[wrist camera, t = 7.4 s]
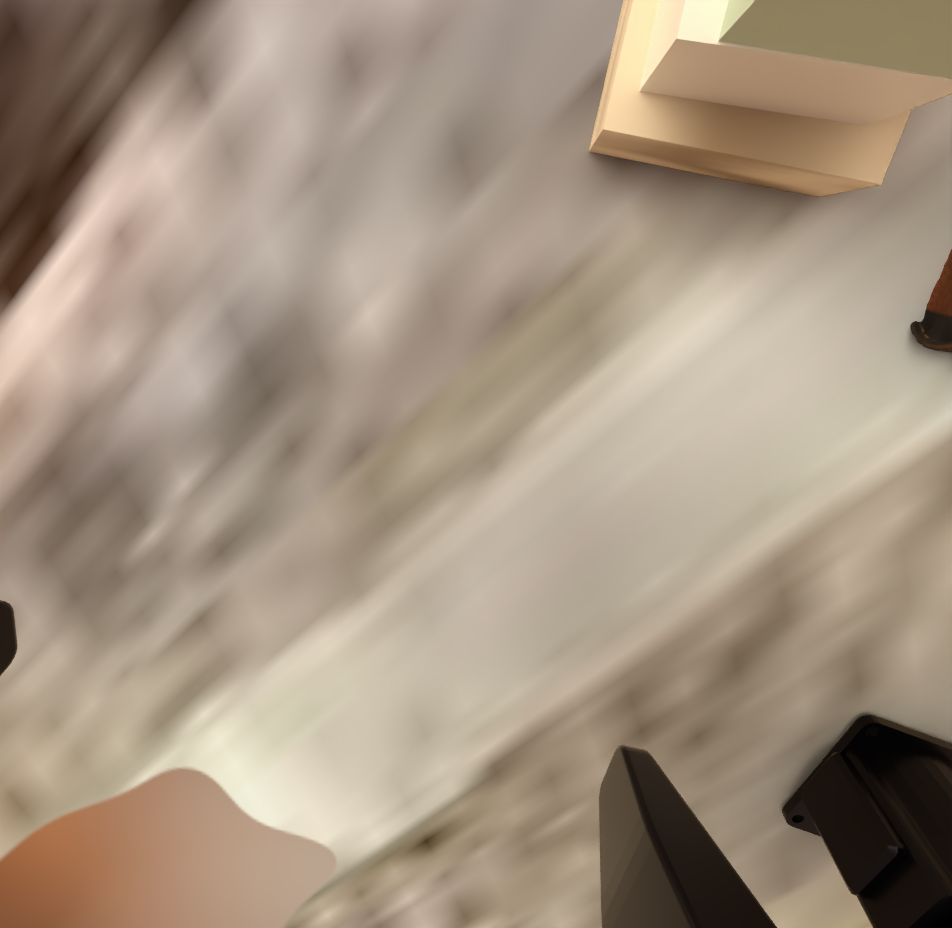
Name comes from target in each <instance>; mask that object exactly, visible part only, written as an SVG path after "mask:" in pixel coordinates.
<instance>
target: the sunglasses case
mask: <svg viewBox="0 0 952 928" xmlns="http://www.w3.org/2000/svg"><path fill="white" fill-rule="evenodd" d="M910 327H911V330H912V333H913V335H914V336H915V338H916V340H917V342H918V343H920V344H922V345H923V346H924V347H926V348H929V349H933V350H937V351H946V352H952V250H951V252H950V255H949V257H948V260H947V262H946V263H945V265H944V268H943V271H942V273H941V276H940V279H939V280H938V281H937V283H936V285H935V287H934V289H933V292H932V294H931V297H930V300H929V302H928V304H927V308H926V311H925V316H924V319H923V321H922V322H917V321H915V322H913V323H911V326H910Z"/></svg>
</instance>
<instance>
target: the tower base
mask: <svg viewBox="0 0 952 928" xmlns="http://www.w3.org/2000/svg"><path fill="white" fill-rule="evenodd" d="M658 3H659V0H624V1H623V5H622V9H621V14H620V18H619V23H618V27H617V31H616V36H615V40H614V44H613V49H612V53H611V57H610V62H609V66H608V70H607V75H606V79H605V83H604V88H603V92H602V97H601V101H600V105H599V110H598V114H597V118H596V123H595V127H594V131H593V136H592V140H591V144H590V149H589V152H594V153H599V154H604V155H609V156H614V157H619V158H624V159H629V160H634V161H639V162H644V163H649V164H654V165H659V166H664V167H669V168H674V169H679V170H684V171H689V172H694V173H699V174H704V175H709V176H714V177H719V178H724V179H730V180H735V181H740V182H745V183H750V184H755V185H760V186H765V187H770V188H775V189H780V190H785V191H790V192H795V193H800V194H805V195H810V196H815V197H821V196H826V195H831V194H836V193H841V192H846V191H851V190H856V189H861V188H866V187H871V186H876V185H881V184H882V181H883V179H884V176H885V174H886V172H887V169H888V167H889V164H890V162H891V159H892V157H893V154H894V152H895V149H896V147H897V145H898V142H899V140H900V137H901V135H902V132H903V130H904V127H905V125H906V122H907V120H908V118H909V115H910V113H911V110H912V109H910V110H908V111H905V112H902V113H900V114H897V115H894V116H892V117H889V118H886V119H884V120H881V121H878V122H876V123H873V124H871V125H868V126H865V125H858V124H852V123H845V122H838V121H832V120H825V119H818V118H812V117H805V116H799V115H792V114H785V113H779V112H772V111H766V110H759V109H752V108H746V107H739V106H732V105H726V104H719V103H713V102H706V101H699V100H693V99H686V98H680V97H673V96H666V95H660V94H653V93H646V92H640V91H639V90H640V86H641V81H642V76H643V72H644V67H645V63H646V58H647V53H648V49H649V44H650V39H651V35H652V30H653V26H654V21H655V16H656V12H657V7H658Z"/></svg>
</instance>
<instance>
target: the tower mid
mask: <svg viewBox="0 0 952 928" xmlns="http://www.w3.org/2000/svg"><path fill="white" fill-rule="evenodd" d="M728 2H729V0H659V3H658V7H657V12H656V16H655V21H654V26H653V30H652V35H651V39H650V44H649V49H648V53H647V58H646V63H645V67H644V72H643V76H642V81H641V86H640V90H639V91H640V92H646V93H653V94H660V95H666V96H673V97H680V98H686V99H693V100H699V101H706V102H713V103H719V104H726V105H732V106H739V107H746V108H752V109H759V110H766V111H772V112H779V113H785V114H792V115H799V116H805V117H812V118H818V119H825V120H832V121H838V122H845V123H852V124H858V125H865V126H868V125H871V124H873V123H876V122H878V121H881V120H884V119H886V118H889V117H892V116H894V115H897V114H900V113H902V112H905V111H908V110H910V109H913V108H915V107H918V106H921V105H923V104H926V103H929V102H931V101H934V100H937V99H939V98H942V97H945V96H947V95H950V94H952V78H947V77H941V76H935V75H928V74H922V73H916V72H909V71H903V70H897V69H891V68H884V67H878V66H872V65H865V64H859V63H853V62H846V61H840V60H834V59H828V58H821V57H815V56H809V55H802V54H796V53H790V52H783V51H777V50H771V49H765V48H758V47H752V46H746V45H739V44H733V43H727V42H721V41H718V40H719V36H720V32H721V29H722V25H723V21H724V17H725V13H726V9H727V6H728Z"/></svg>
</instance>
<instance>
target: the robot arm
mask: <svg viewBox="0 0 952 928" xmlns="http://www.w3.org/2000/svg"><path fill="white" fill-rule="evenodd" d="M16 651H17V637H16V628H15V619H14V611H13V608H12V606H11V605H10V604H9V603H7V602H5V601H1V600H0V676H1V675H2V673H3V672H4V671H5V670H6V669H7V668H8V666H9V665H10V664H11V662H12V660H13V659H14V657H15V654H16ZM869 728H870V729H869ZM782 813H783V816H784V818H785V820H786V822H787V823H788V824H789V825H790V826H793V827H795V828H798V829H801V830H804V831H807V832H810V833H813V834H815V835H818V836H821V837H822V839H823V841H824V843H825V845H826V847H827V849H828V851H829V853H830V854H831V856H832V858H833V860H834V862H835V864H836V866H837V868H838V870H839V872H840V874H841V876H842V878H843V880H844V882H845V884H846V886H847V888H848V889H849V891H850V892H851V893H852V894H854V895H856V896H857V898H858V900H859V902H860V904H861V905H862V907H863V909H864V911H865V913H866V915H867V917H868V919H869V921H870V923H871V925H872V927H873V928H952V744H950V743H947V742H944V741H942V740H939V739H936V738H933V737H931V736H928V735H925V734H922V733H920V732H917V731H914V730H912V729H909V728H906V727H903V726H901V725H898V724H895V723H892V722H890V721H887V720H884V719H882V718H879V717H876V716H872V715H865V716H862V717H860V718H859V719H857V720H856V721H855V723H854V724H853V725H852V726H851V727H850V728H849V730H848V731H847V732H846V733H845V734H844V736H843V737H842V738H841V739H840V740H839V742H838V743H837V744H836V745H835V746H834V748H833V749H832V750H831V751H830V752H829V753H828V755H827V756H826V757H825V758H824V759H823V761H822V762H821V763H820V764H819V765H818V767H817V768H816V769H815V770H814V771H813V773H812V774H811V775H810V776H809V777H808V779H807V780H806V781H805V782H804V783H803V784H802V786H801V787H800V788H799V789H798V790H797V792H796V793H795V794H794V795H793V796H792V798H791V799H790V800H789V801H788V802H787V804H786V805H785V806H784V807H783V809H782ZM599 821H600V872H601V912H602V928H777V927H776V926H775V924H774V923H773V921H772V920H771V919H770V917H769V916H768V915H767V913H766V912H765V910H764V909H763V908H762V906H761V905H760V904H759V902H758V901H757V899H756V898H755V897H754V895H753V894H752V893H751V891H750V890H749V889H748V887H747V886H746V884H745V883H744V882H743V880H742V879H741V878H740V876H739V875H738V873H737V872H736V871H735V869H734V868H733V867H732V865H731V864H730V862H729V861H728V860H727V858H726V857H725V856H724V854H723V853H722V851H721V850H720V849H719V847H718V846H717V845H716V843H715V842H714V841H713V839H712V838H711V836H710V835H709V834H708V832H707V831H706V830H705V828H704V827H703V825H702V824H701V823H700V821H699V820H698V819H697V817H696V816H695V814H694V813H693V812H692V810H691V809H690V808H689V806H688V805H687V804H686V802H685V801H684V799H683V798H682V797H681V795H680V794H679V793H678V791H677V790H676V788H675V787H674V786H673V784H672V783H671V782H670V780H669V779H668V777H667V776H666V775H665V773H664V772H663V771H662V769H661V768H660V766H659V765H658V764H657V762H656V761H655V760H654V758H653V757H652V756H651V754H650V753H648V752H647V751H646V750H644V749H639V748H635V747H631V746H627V745H620V746H618V748H617V749H616V750H615V752H614V755H613V757H612V760H611V762H610V764H609V767H608V769H607V772H606V774H605V776H604V779H603V781H602V784H601V788H600V795H599Z"/></svg>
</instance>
